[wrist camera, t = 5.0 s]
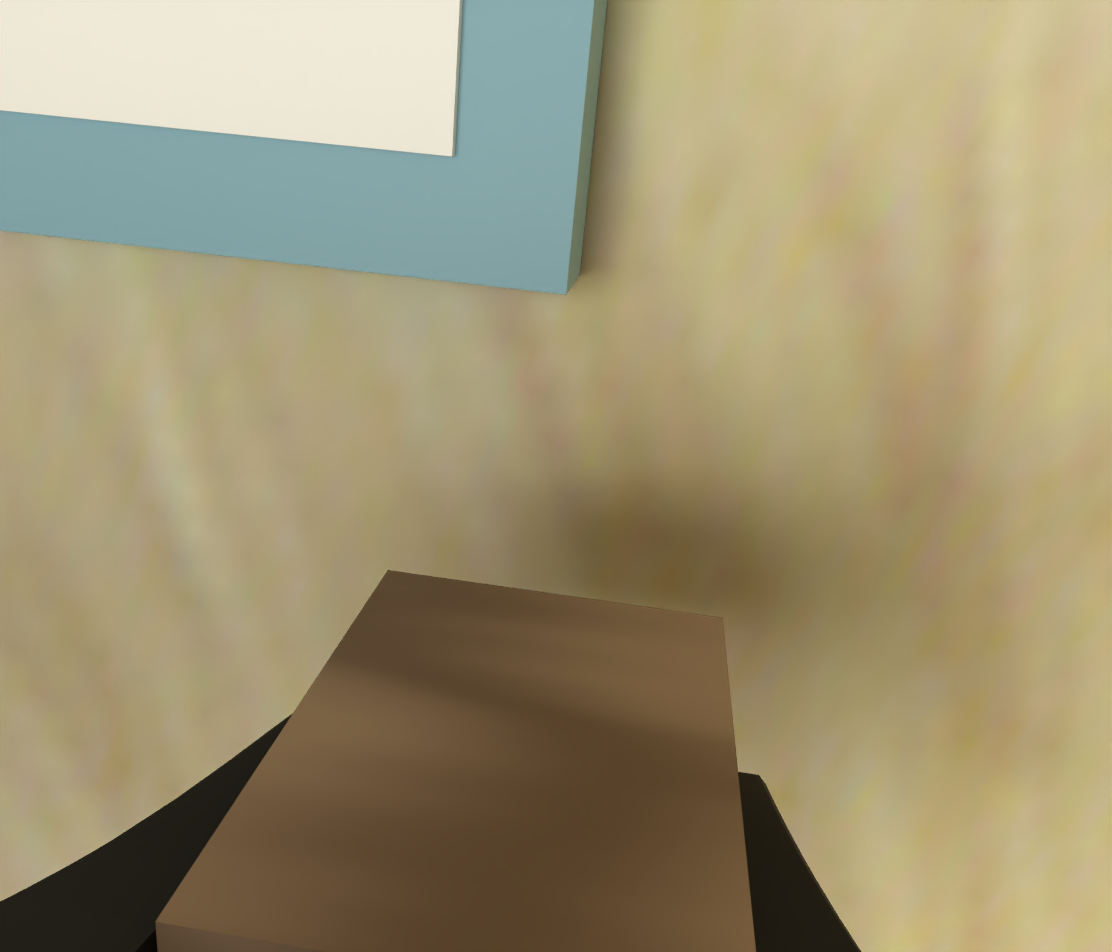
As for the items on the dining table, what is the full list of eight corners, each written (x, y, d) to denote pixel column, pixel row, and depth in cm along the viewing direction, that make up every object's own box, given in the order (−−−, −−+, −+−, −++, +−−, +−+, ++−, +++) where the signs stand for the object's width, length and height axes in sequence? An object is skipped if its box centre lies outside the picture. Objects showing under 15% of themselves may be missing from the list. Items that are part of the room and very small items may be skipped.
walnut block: (378, 835, 14) (183, 1296, 8) (387, 570, 12) (155, 920, 7) (674, 884, 14) (674, 1398, 8) (722, 617, 12) (764, 1028, 7)
